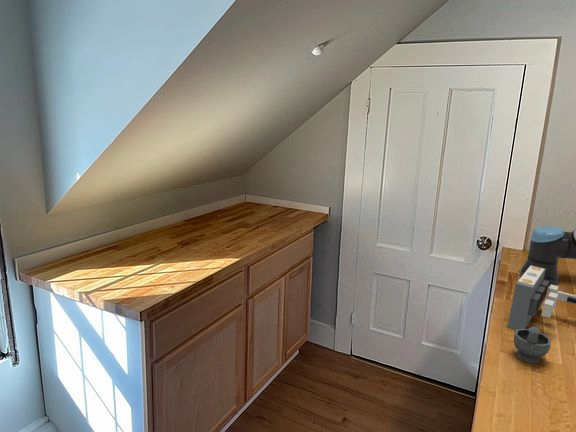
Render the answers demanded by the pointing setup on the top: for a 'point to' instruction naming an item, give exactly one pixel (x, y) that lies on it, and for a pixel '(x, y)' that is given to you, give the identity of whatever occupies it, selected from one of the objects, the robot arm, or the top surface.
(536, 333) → the mortar and pestle
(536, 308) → the button panel
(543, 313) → the button
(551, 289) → the button
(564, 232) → the robot arm
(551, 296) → the button middle
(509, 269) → the top surface
